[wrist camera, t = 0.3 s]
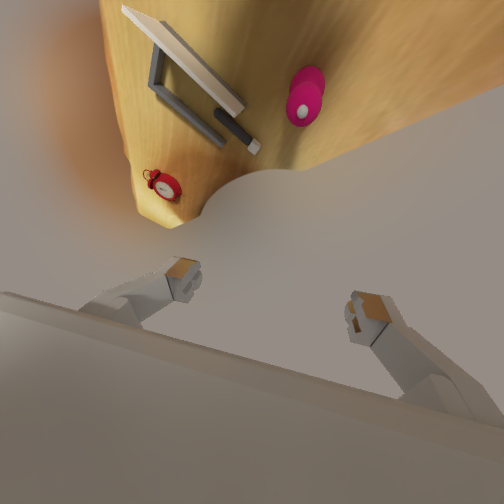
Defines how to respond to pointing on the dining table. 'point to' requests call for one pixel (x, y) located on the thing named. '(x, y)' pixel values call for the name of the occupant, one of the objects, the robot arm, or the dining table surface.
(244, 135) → the white-capped dark rod
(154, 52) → the grey flat frame
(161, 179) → the alarm clock
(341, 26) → the dining table surface
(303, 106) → the pepper mill
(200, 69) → the cover
